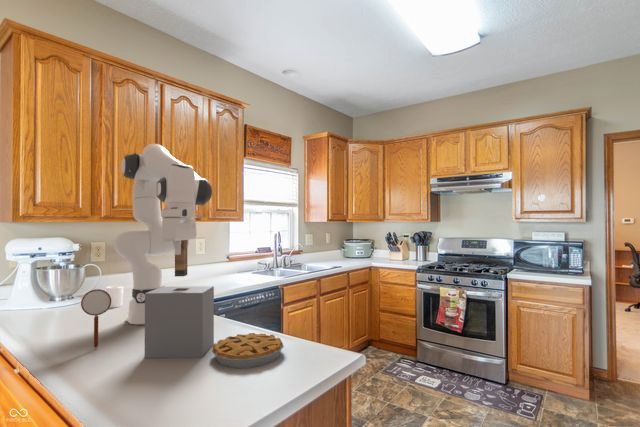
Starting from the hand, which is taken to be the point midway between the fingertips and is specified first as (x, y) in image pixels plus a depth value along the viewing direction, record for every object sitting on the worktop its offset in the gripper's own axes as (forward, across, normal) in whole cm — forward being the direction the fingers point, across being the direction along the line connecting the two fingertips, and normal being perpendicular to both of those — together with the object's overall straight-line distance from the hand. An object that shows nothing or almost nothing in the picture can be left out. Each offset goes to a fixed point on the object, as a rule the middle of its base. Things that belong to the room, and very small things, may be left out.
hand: (181, 254), depth 118 cm
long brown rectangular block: (+7, 0, 0) cm, 7 cm away
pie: (+32, +5, +23) cm, 40 cm away
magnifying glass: (+32, -2, -29) cm, 43 cm away
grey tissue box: (+32, 0, 0) cm, 32 cm away
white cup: (+32, -66, -59) cm, 94 cm away
